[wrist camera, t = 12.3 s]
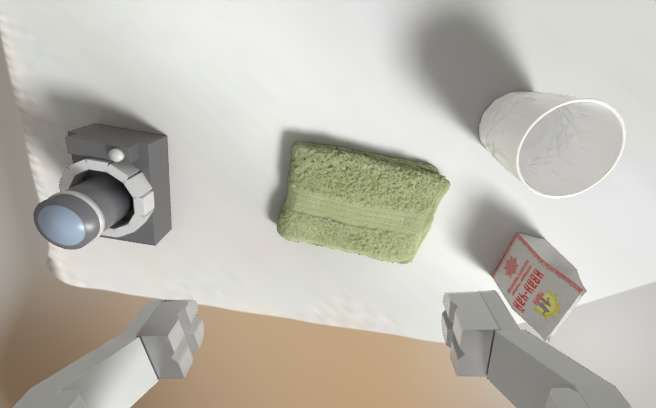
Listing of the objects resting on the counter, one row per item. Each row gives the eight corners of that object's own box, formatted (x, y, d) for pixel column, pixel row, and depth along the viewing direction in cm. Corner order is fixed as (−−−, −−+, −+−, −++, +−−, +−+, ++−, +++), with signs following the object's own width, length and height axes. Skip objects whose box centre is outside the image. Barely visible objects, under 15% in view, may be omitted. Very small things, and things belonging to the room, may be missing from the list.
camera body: (92, 123, 37) (47, 136, 31) (169, 136, 37) (137, 151, 31) (106, 218, 42) (69, 244, 36) (173, 229, 42) (146, 256, 37)
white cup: (468, 97, 34) (512, 115, 25) (551, 74, 33) (630, 84, 23) (476, 169, 37) (518, 208, 28) (552, 150, 36) (622, 185, 27)
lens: (95, 216, 37) (42, 250, 31) (81, 172, 35) (22, 198, 28) (141, 217, 37) (98, 251, 30) (130, 172, 35) (81, 199, 28)
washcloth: (411, 260, 43) (416, 276, 40) (276, 230, 42) (271, 243, 39) (450, 166, 37) (458, 176, 34) (296, 129, 37) (291, 136, 34)
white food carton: (545, 239, 40) (603, 295, 31) (518, 283, 43) (564, 345, 34) (517, 232, 40) (567, 285, 31) (491, 276, 43) (530, 337, 34)
